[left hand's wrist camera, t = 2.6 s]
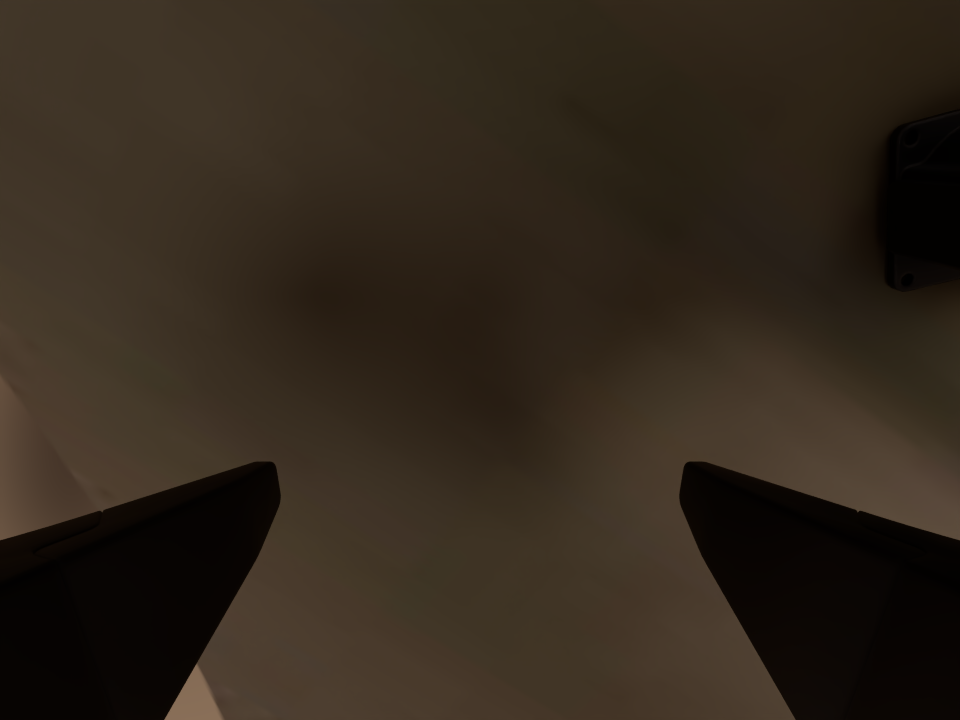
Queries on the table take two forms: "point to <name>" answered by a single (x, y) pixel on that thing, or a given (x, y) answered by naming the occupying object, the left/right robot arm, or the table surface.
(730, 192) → the table surface
